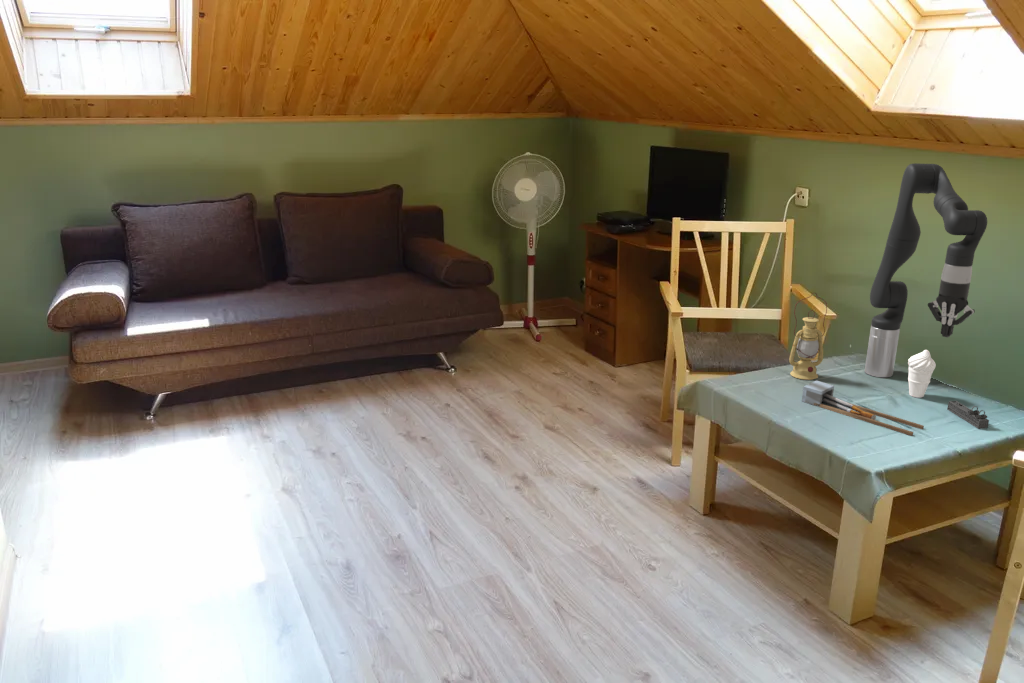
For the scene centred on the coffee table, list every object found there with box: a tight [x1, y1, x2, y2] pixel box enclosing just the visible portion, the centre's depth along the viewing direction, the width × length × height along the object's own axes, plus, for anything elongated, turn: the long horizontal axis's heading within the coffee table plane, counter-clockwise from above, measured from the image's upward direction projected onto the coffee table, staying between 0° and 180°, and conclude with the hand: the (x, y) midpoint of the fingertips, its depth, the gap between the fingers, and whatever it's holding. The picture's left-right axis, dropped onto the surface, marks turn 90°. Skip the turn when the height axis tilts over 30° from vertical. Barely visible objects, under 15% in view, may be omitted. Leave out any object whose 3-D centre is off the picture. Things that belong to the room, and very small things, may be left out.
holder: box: [801, 379, 925, 437], centre depth 253 cm, size 8×35×5 cm, turn 41°
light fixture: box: [946, 400, 990, 430], centre depth 250 cm, size 3×15×6 cm, turn 6°
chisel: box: [822, 393, 877, 420], centre depth 257 cm, size 19×3×3 cm
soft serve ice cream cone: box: [907, 349, 937, 399], centre depth 266 cm, size 8×8×16 cm
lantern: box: [788, 292, 828, 381], centre depth 281 cm, size 12×10×30 cm
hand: (945, 336), depth 241 cm, fingers closed
